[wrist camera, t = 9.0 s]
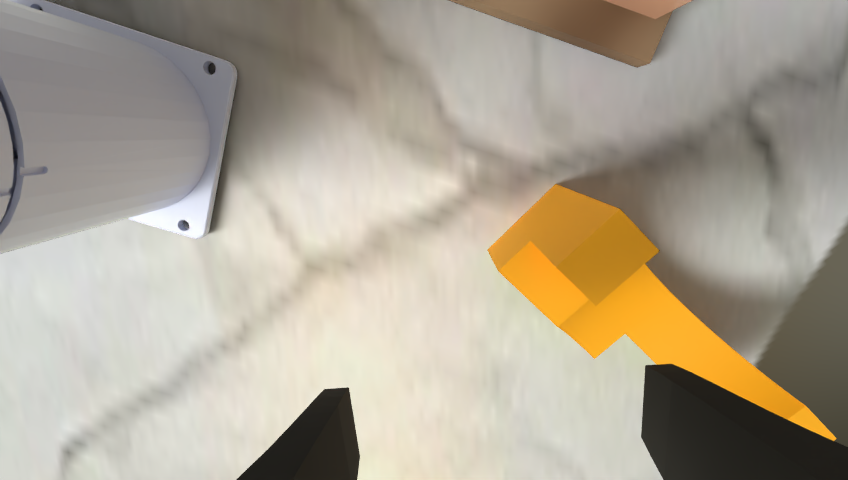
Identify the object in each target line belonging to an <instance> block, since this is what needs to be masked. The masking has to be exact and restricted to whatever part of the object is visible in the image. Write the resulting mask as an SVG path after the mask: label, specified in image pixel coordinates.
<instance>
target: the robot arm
mask: <svg viewBox="0 0 848 480" xmlns="http://www.w3.org/2000/svg"><path fill="white" fill-rule="evenodd" d="M40 8H42V9H43V11H40ZM211 63H214V65H215V66H216V71H215V73H214V74H212V75H211V74H210V73H209V71H208V67H209V64H211ZM236 81H237V70H236V67H235V66H234V65H233V64H232V63H231V62H229V61H227V60H224V59H221V58H218V57H215V56H212V55H209V54H206V53H203V52H200V51H197V50H194V49H191V48H188V47H185V46H182V45H179V44H176V43H173V42H170V41H167V40H163V39H160V38H157V37H154V36H151V35H148V34H145V33H142V32H139V31H136V30H133V29H130V28H127V27H124V26H121V25H118V24H115V23H112V22H109V21H106V20H103V19H100V18H97V17H94V16H91V15H88V14H85V13H82V12H79V11H76V10H73V9H70V8H67V7H64V6H61V5H58V4H55V3H52V2H49V1H46V0H0V254H2V253H5V252H9V251H12V250H16V249H20V248H23V247H27V246H30V245H34V244H37V243H41V242H45V241H48V240H52V239H55V238H59V237H63V236H66V235H70V234H73V233H77V232H80V231H84V230H88V229H91V228H95V227H98V226H102V225H106V224H109V223H113V222H116V221H120V220H124V219H129V220H133V221H136V222H139V223H143V224H146V225H150V226H153V227H156V228H160V229H163V230H166V231H170V232H173V233H176V234H180V235H183V236H187V237H190V238H193V239H199V238H202V237H204V236H206V235H207V234H208V232H209V229H210V224H211V218H212V213H213V207H214V202H215V196H216V191H217V185H218V180H219V174H220V169H221V163H222V158H223V152H224V147H225V141H226V136H227V130H228V125H229V120H230V114H231V109H232V103H233V98H234V92H235V87H236ZM184 220H185V221H187V222H188V223H189V229H187V228H185V227H184V225H183V221H184ZM641 437H642V439H643V441H644V443H645V445H646V447H647V449H648V451H649V453H650V455H651V457H652V459H653V461H654V463H655V465H656V466H657V468H658V470H659V472H660V474H661V476H662V477H663V479H664V480H848V447H846V446H844V445H841V444H839V443H837V442H835V441H833V440H830V439H828V438H826V437H824V436H821V435H819V434H817V433H815V432H813V431H810V430H808V429H806V428H804V427H802V426H800V425H798V424H795V423H793V422H791V421H789V420H787V419H785V418H783V417H781V416H779V415H777V414H775V413H773V412H770V411H768V410H766V409H764V408H762V407H760V406H758V405H756V404H754V403H752V402H750V401H748V400H746V399H744V398H742V397H740V396H738V395H736V394H734V393H732V392H730V391H728V390H726V389H724V388H722V387H720V386H718V385H716V384H714V383H712V382H710V381H708V380H706V379H704V378H702V377H700V376H698V375H696V374H694V373H692V372H690V371H688V370H685V369H683V368H681V367H679V366H676V365H674V364H659V365H646V366H645V383H644V400H643V417H642V434H641ZM359 459H360V455H359V448H358V442H357V436H356V430H355V424H354V417H353V411H352V405H351V399H350V392H349V388H336V389H324V390H323V391H322V392H321V393H320V394H319V395H318V396H317V398H316V399H315V400H314V401H313V402H312V403H311V404H310V405H309V406H308V407H307V408H306V409H305V411H304V412H303V413H302V414H301V415H300V416H299V417H298V418H297V419H296V420H295V421H294V422H293V424H292V425H291V426H290V427H289V428H288V429H287V430H286V431H285V432H284V433H283V434H282V435H281V436H280V437H279V438H278V439H277V440H276V441H275V443H274V444H273V445H272V446H271V447H270V448H269V449H268V450H267V451H266V452H265V453H264V454H263V455H262V456H261V457H259V458H258V459H257V460H256V461H255V462H254V463H253V464H252V465H251V466H250V467H249V468H248V469H247V470H246V471H245V472H244V473H243V474H242V475H241V476H240V477H239V478H238V479H237V480H357V475H358V467H359Z"/></svg>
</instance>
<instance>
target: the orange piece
mask: <svg viewBox="0 0 848 480" xmlns="http://www.w3.org/2000/svg"><path fill="white" fill-rule="evenodd" d="M488 252H489V254H490V256H491V258H492V260H493V262H494V264H495V266H496V268H497V270H498V271H499V272H500V273H501V274H502V275H503V276H504V277H505V278H506V279H507V280H508V281H509V282H510V283H511V284H513V285H514V286H515V287H516V288H517V289H518V290H519V291H520V292H521V293H522V294H523V295H524V296H525V297H526V298H527V299H528V300H529V301H531V302H532V303H533V304H534V305H535V306H536V307H537V308H538V309H539V310H540V311H541V312H542V313H543V314H544V315H545V316H546V317H548V318H549V319H550V320H551V321H552V322H553V323H554V324H555V325H556V326H557V327H559V328H560V329H561V330H563V331H564V332H565V333H567V334H568V335H569V336H570V337H571V338H573V339H574V340H575V341H576V342H577V343H578V344H579V345H580V346H582V347H583V348H584V349H585V350H586V351H587V352H588V353H589V354H590V355H591V356H592V357H593V358H594V359H595V358H596V357H597V356H599V355H600V354H601V353H602V352H603V351H605V350H606V349H607V348H608V347H609V346H611V345H612V344H613V343H614V342H615V341H617V340H618V339H619V338H620V337H621V336H623V335H624V334H626V335H627V336H628V337H629V338H630V339H631V340H632V341H633V342H634V343H635V344H636V345H637V346H638V347H640V348H641V349H642V350H643V351H644V352H645V353H646V354H647V355H648V356H649V357H650V358H651V359H652V360H653V361H654V362H655V363H656V364H657V365H659V364H674V365H676V366H679V367H681V368H683V369H685V370H688V371H690V372H692V373H694V374H696V375H698V376H700V377H702V378H704V379H706V380H708V381H710V382H712V383H714V384H716V385H718V386H720V387H722V388H724V389H726V390H728V391H730V392H732V393H734V394H736V395H738V396H740V397H742V398H744V399H746V400H748V401H750V402H752V403H754V404H756V405H758V406H760V407H762V408H764V409H766V410H768V411H770V412H773V413H775V414H777V415H779V416H781V417H783V418H785V419H787V420H789V421H791V422H793V423H795V424H798V425H800V426H802V427H804V428H806V429H808V430H810V431H813V432H815V433H817V434H819V435H821V436H824V437H826V438H828V439H830V440H833V441H834V440H835V439H836V438H835V436H834V435H833V434H832V433H831V432H830V431H829V430H828V429H827V428H826V427H825V426H824V425H823V424H822V423H821V422H820V421H819V420H818V418H817V417H816V416H815V415H814V414H813V413H812V412H811V411H810V410H809V409H808V408H807V407H806V406H805V405H804V404H802V403H801V402H799V401H798V400H797V399H795V398H794V397H793V396H791V395H790V394H789V393H787V392H786V391H785V390H783V389H782V388H781V387H780V386H778V385H777V384H776V383H774V382H773V381H772V380H770V379H769V378H768V377H767V376H765V375H764V374H763V373H762V372H760V371H759V370H758V369H757V368H755V367H754V366H753V365H752V364H750V363H749V362H748V361H747V360H746V359H744V358H743V357H742V356H741V355H739V354H738V353H737V352H736V351H735V350H733V349H732V348H731V347H730V346H729V345H728V344H726V343H725V342H724V341H723V340H722V339H721V338H719V337H718V336H717V335H716V334H715V333H714V332H713V331H711V330H710V329H709V328H708V327H707V326H706V325H705V324H704V323H702V322H701V321H700V320H699V319H698V318H697V317H696V316H695V315H694V314H693V313H692V312H691V311H689V310H688V309H687V308H686V307H685V306H684V305H683V304H682V303H681V302H680V301H679V300H678V299H677V298H676V297H675V296H674V295H673V294H672V293H671V292H670V291H669V290H668V289H667V288H666V287H665V286H664V285H663V284H662V283H661V282H660V281H659V279H658V278H657V277H656V276H655V275H654V274H653V273H652V272H651V270H650V269H649V268H648V267H647V265H646V264H645V263H647V262H648V261H649V260H650V259H651V258H652V257H654V256H655V255H656V254H657V253H658V252H659V250H658V249H657V248H656V246H655V245H654V244H653V243H652V242H651V241H650V240H649V239H648V238H647V237H646V236H645V235H644V234H643V233H642V232H641V231H640V230H639V228H638V227H637V226H636V225H635V224H634V223H633V222H632V221H631V220H630V219H629V218H628V217H627V216H626V215H625V214H624V213H623V211H622V210H621V209H619V208H617V207H614V206H611V205H609V204H606V203H604V202H601V201H599V200H596V199H593V198H591V197H588V196H586V195H583V194H580V193H578V192H575V191H573V190H570V189H568V188H565V187H562V186H560V185H557V184H555V185H554V186H553V187H552V188H551V189H550V190H549V191H548V192H547V193H546V194H545V195H544V196H543V197H542V198H541V199H540V200H539V201H537V202H536V203H535V204H534V205H533V206H532V207H531V208H530V209H529V210H528V211H527V212H526V213H525V214H524V215H523V216H522V217H521V218H520V219H519V220H518V221H517V222H516V223H515V224H514V225H513V226H512V227H511V228H510V229H508V230H507V231H506V232H505V233H504V234H503V235H502V236H501V237H500V238H499V239H498V240H497V241H496V242H495V243H494V244H493V245H492V246H491V247H490V248H489V249H488Z"/></svg>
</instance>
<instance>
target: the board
mask: <svg viewBox="0 0 848 480" xmlns="http://www.w3.org/2000/svg"><path fill="white" fill-rule="evenodd" d="M449 1H452V2H455V3H457V4H460V5H463V6H466V7H469V8H471V9H474V10H477V11H480V12H483V13H486V14H488V15H491V16H494V17H497V18H500V19H502V20H505V21H508V22H511V23H514V24H516V25H519V26H522V27H525V28H528V29H531V30H533V31H536V32H539V33H542V34H545V35H547V36H550V37H553V38H556V39H559V40H561V41H564V42H567V43H570V44H573V45H576V46H578V47H581V48H584V49H587V50H590V51H592V52H595V53H598V54H601V55H604V56H606V57H609V58H612V59H615V60H618V61H621V62H623V63H626V64H629V65H632V66H635V67H640V66H643V65H646V64H649V63H650V62H651V60H652V57H653V55H654V53H655V50H656V48H657V46H658V43H659V41H660V39H661V37H662V34H663V32H664V30H665V27H666V25H667V23H668V20H669V18H670V16H671V13H672V11H671V12H669V13H667V14H665V15H663V16H661V17H659V18H657V19H653V18H650V17H648V16H645V15H642V14H640V13H637V12H634V11H631V10H629V9H626V8H623V7H620V6H618V5H615V4H612V3H610V2H607V1H604V0H449Z"/></svg>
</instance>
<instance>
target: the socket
mask: <svg viewBox="0 0 848 480" xmlns="http://www.w3.org/2000/svg"><path fill="white" fill-rule="evenodd" d="M604 1H607V2H610V3H612V4H615V5H618V6H620V7H623V8H626V9H629V10H631V11H634V12H637V13H640V14H642V15H645V16H648V17H650V18H653V19H657V18H659V17H661V16H663V15H665V14H667V13H669V12H671V11H673V10H675V9H677V8H679V7H681V6H683V5H685V4H687V3H688V2H690V1H692V0H604Z"/></svg>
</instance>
